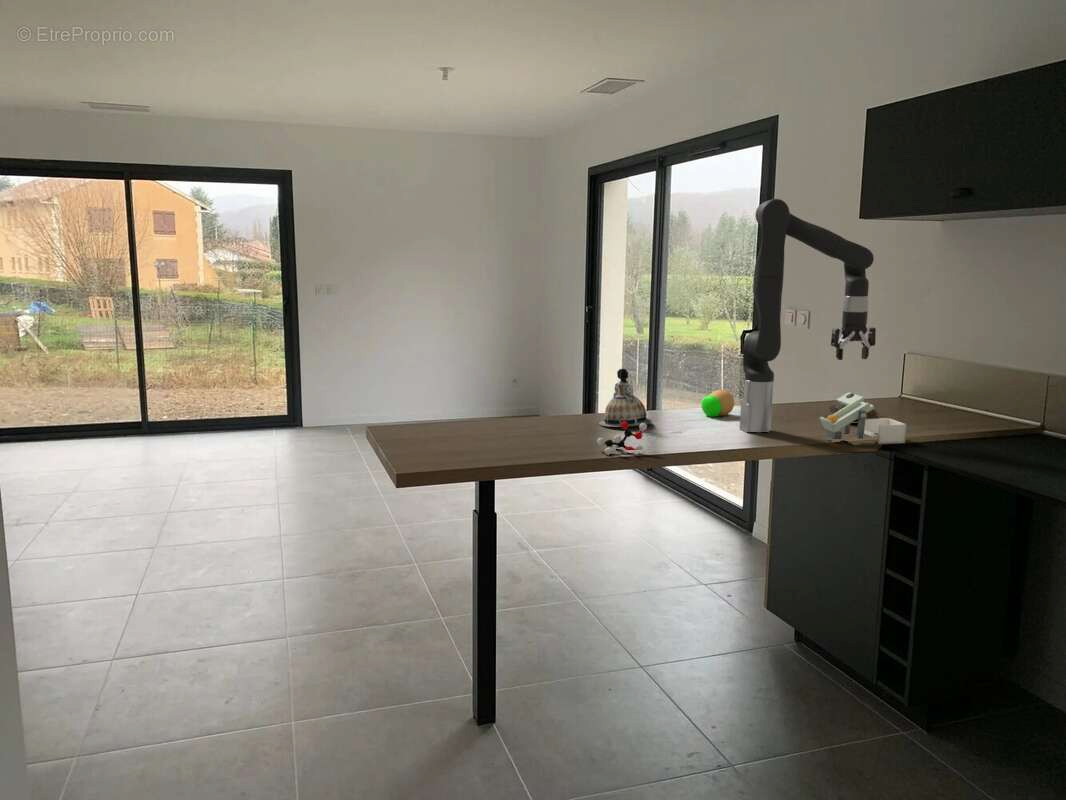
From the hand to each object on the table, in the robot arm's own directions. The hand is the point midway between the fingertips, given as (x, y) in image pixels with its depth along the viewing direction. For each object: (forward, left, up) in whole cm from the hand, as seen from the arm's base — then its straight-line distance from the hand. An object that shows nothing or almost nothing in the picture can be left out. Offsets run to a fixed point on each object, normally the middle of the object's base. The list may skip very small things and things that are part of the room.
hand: (852, 359), depth 259 cm
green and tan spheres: (-33, +31, -25) cm, 52 cm away
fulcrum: (-6, -11, -24) cm, 28 cm away
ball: (-12, -11, -18) cm, 24 cm away
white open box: (+6, -12, -25) cm, 28 cm away
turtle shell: (+13, +16, -25) cm, 32 cm away
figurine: (-70, +21, -25) cm, 77 cm away
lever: (-5, -6, -17) cm, 18 cm away
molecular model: (-81, -15, -25) cm, 86 cm away
